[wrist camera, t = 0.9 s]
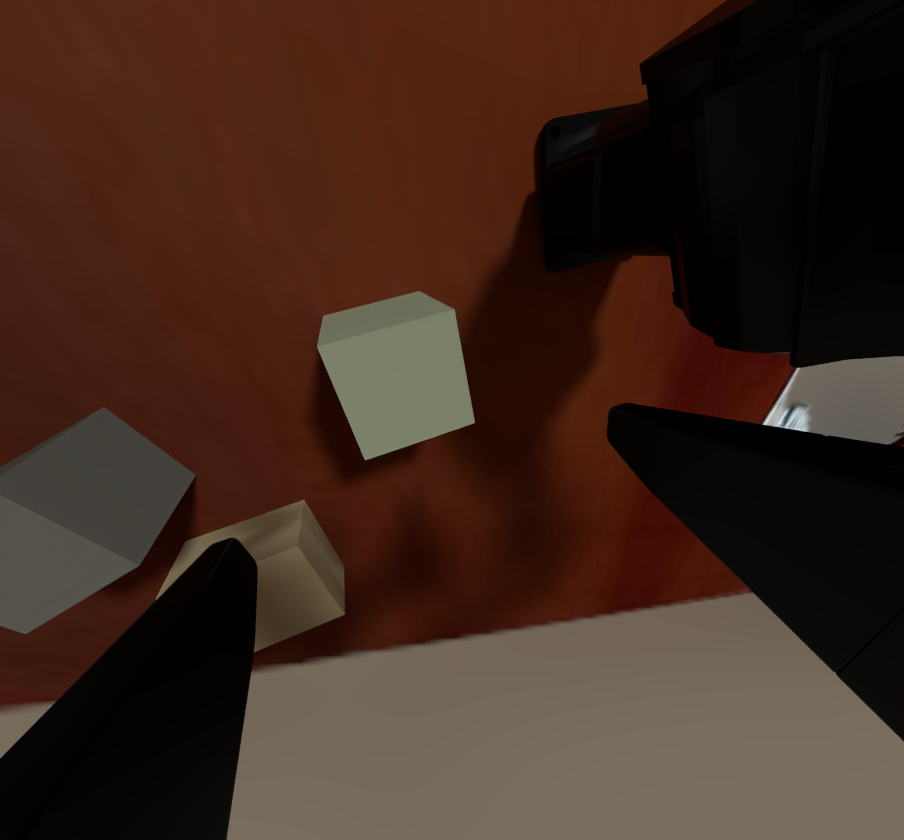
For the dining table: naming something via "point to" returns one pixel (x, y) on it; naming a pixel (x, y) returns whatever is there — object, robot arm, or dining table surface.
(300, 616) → the maple base
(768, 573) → the robot arm
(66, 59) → the dining table surface
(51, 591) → the grey block
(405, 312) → the sage block
